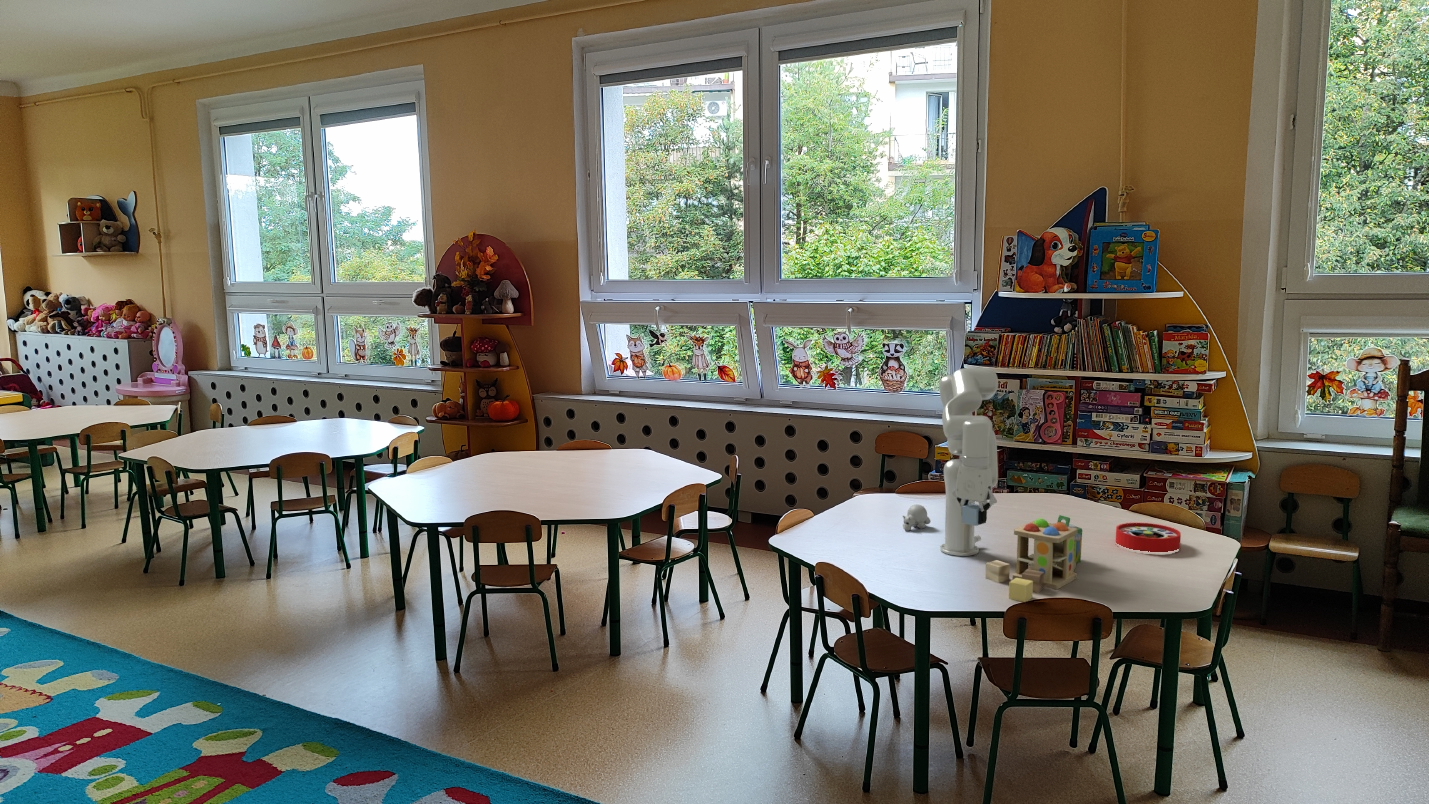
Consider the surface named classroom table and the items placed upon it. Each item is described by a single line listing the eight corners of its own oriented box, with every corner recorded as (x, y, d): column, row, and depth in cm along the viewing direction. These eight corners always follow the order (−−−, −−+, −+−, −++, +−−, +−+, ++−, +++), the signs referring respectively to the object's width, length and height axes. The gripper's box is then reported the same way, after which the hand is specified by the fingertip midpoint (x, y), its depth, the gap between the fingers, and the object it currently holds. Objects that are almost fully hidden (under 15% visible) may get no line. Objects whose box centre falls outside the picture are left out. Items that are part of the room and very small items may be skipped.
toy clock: (1178, 541, 303) (1112, 534, 313) (1177, 559, 303) (1111, 550, 313) (1182, 526, 320) (1119, 519, 330) (1181, 543, 321) (1119, 535, 331)
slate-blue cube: (971, 519, 281) (972, 503, 280) (985, 522, 277) (986, 506, 276) (961, 522, 278) (962, 506, 277) (976, 525, 274) (976, 509, 273)
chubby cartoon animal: (899, 535, 345) (892, 516, 342) (919, 518, 350) (913, 499, 347) (913, 539, 339) (907, 519, 336) (934, 522, 344) (928, 502, 342)
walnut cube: (1026, 585, 281) (1027, 569, 280) (1043, 588, 278) (1044, 572, 277) (1021, 589, 277) (1021, 573, 276) (1038, 592, 274) (1039, 576, 273)
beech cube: (996, 575, 290) (996, 560, 289) (1009, 579, 286) (1009, 564, 285) (985, 578, 287) (985, 563, 287) (998, 582, 283) (998, 567, 282)
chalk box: (1039, 559, 305) (1040, 515, 303) (1060, 555, 309) (1062, 511, 307) (1060, 566, 297) (1062, 521, 295) (1082, 562, 301) (1083, 518, 299)
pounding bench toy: (1045, 562, 302) (1046, 508, 300) (1088, 571, 292) (1090, 516, 290) (1011, 579, 286) (1013, 523, 283) (1056, 590, 276) (1058, 531, 273)
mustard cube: (1015, 593, 273) (1016, 577, 273) (1032, 597, 270) (1032, 581, 269) (1008, 598, 270) (1009, 582, 269) (1025, 602, 266) (1026, 585, 266)
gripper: (943, 459, 279) (942, 518, 281) (992, 467, 266) (991, 529, 268) (958, 455, 283) (957, 513, 286) (1007, 464, 271) (1006, 524, 273)
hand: (973, 520), depth 277 cm, fingers closed on slate-blue cube, 4 cm apart
